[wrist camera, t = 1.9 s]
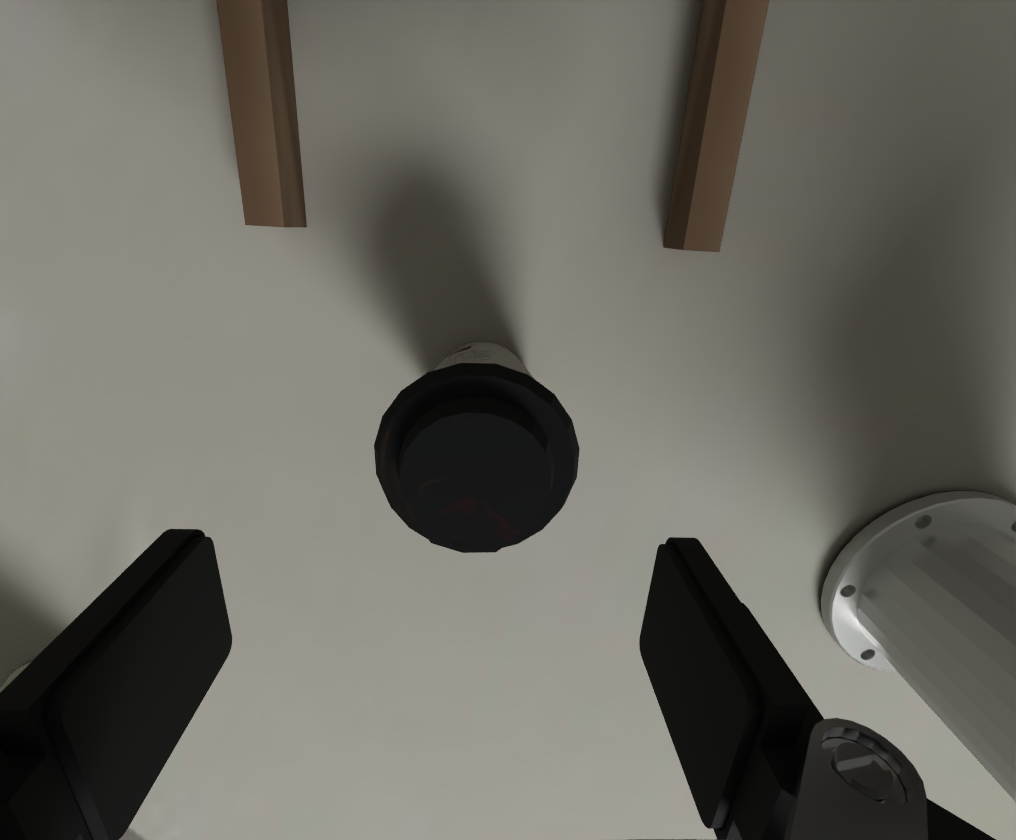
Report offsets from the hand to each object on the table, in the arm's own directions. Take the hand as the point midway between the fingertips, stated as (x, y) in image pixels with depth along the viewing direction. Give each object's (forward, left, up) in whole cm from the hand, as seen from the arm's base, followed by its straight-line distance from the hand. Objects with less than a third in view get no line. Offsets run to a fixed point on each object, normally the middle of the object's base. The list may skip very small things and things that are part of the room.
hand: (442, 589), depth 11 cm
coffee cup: (-1, 0, -15) cm, 15 cm away
